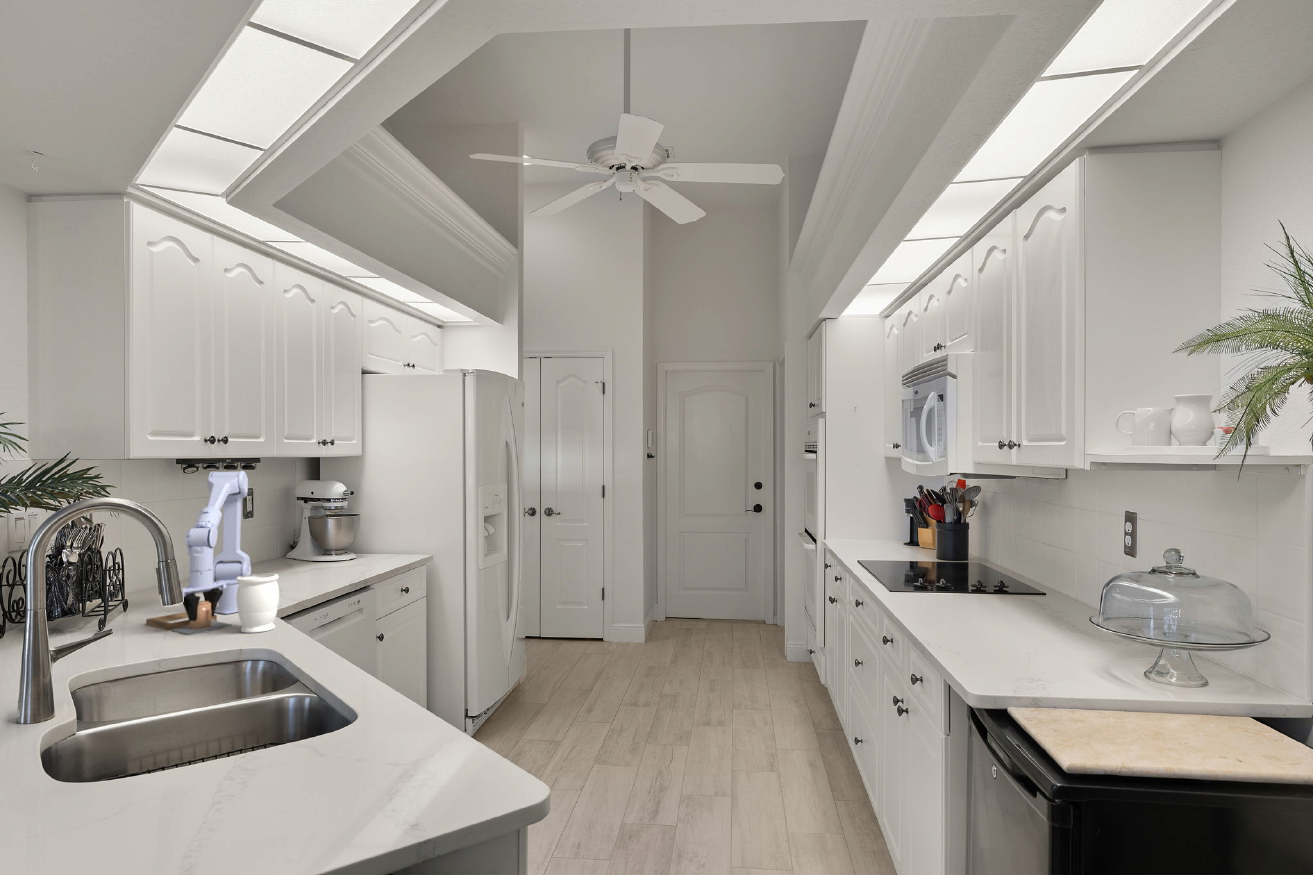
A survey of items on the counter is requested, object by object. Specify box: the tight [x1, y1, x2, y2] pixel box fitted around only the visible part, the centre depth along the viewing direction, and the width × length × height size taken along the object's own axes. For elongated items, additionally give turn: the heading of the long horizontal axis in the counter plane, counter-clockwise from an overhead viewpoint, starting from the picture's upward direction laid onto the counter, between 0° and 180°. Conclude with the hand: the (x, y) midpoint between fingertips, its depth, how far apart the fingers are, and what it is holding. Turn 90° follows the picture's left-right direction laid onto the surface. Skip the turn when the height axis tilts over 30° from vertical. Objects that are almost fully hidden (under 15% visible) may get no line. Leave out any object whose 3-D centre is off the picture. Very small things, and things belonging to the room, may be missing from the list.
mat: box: [170, 620, 233, 636], centre depth 209 cm, size 12×9×1 cm
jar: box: [237, 573, 280, 634], centre depth 206 cm, size 11×10×15 cm
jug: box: [190, 600, 212, 629], centre depth 209 cm, size 6×5×7 cm
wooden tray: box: [145, 611, 218, 631], centre depth 216 cm, size 13×13×2 cm
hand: (201, 618), depth 209 cm, fingers closed on jug, 5 cm apart
